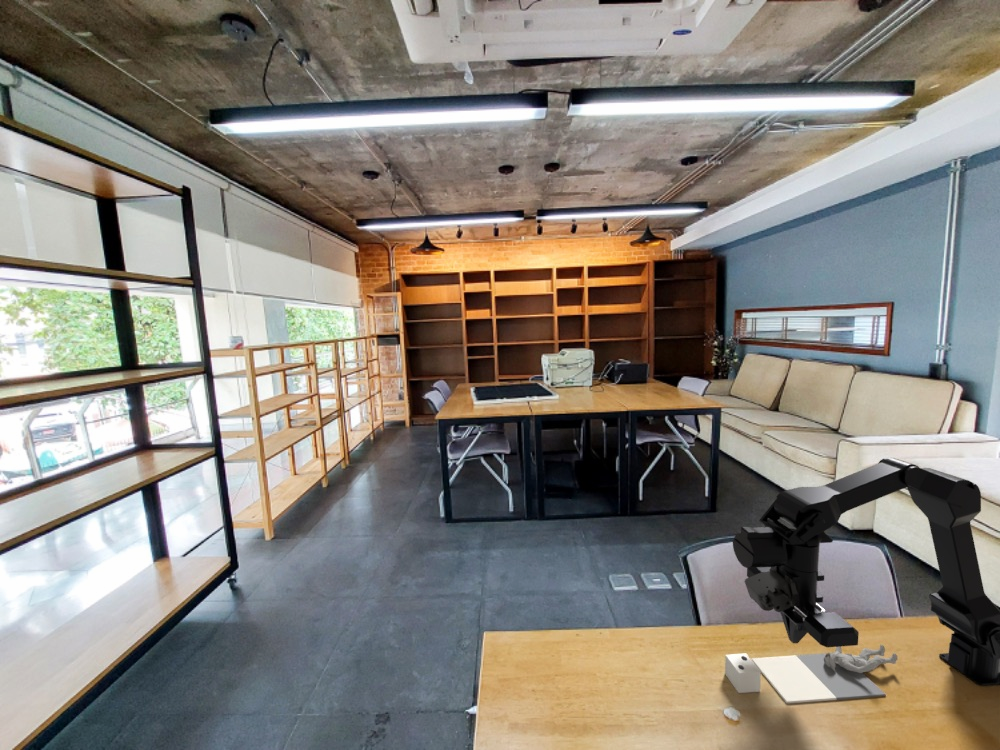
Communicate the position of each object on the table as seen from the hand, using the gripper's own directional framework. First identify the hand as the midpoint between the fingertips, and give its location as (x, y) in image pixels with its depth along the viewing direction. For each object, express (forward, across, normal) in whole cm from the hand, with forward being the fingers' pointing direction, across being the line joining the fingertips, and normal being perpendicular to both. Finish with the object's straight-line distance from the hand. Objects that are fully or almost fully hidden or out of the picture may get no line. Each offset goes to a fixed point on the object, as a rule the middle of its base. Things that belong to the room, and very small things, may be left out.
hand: (793, 641), depth 72 cm
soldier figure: (+7, 0, +20) cm, 21 cm away
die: (+8, 0, -10) cm, 12 cm away
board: (+8, 0, +4) cm, 9 cm away
